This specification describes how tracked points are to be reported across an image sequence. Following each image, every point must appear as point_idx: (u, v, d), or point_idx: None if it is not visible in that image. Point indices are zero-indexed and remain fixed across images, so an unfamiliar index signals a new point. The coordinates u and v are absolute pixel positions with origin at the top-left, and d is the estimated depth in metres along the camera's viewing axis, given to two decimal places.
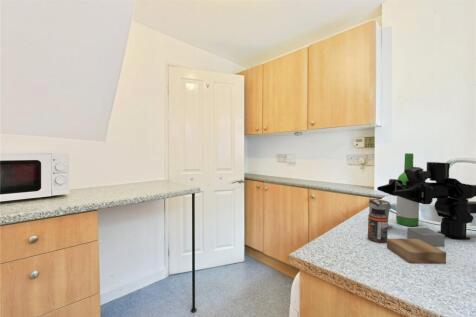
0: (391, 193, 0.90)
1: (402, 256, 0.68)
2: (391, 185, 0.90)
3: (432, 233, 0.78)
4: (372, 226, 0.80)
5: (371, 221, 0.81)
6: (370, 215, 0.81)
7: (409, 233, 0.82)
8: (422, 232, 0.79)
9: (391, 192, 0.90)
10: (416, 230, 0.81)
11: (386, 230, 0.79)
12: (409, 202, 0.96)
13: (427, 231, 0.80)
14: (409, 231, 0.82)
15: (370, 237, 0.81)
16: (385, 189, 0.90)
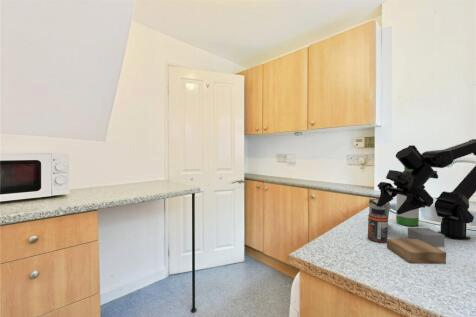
0: (390, 199, 0.88)
1: (402, 256, 0.68)
2: (384, 194, 0.87)
3: (432, 233, 0.78)
4: (372, 226, 0.80)
5: (371, 221, 0.81)
6: (370, 215, 0.81)
7: (409, 233, 0.83)
8: (422, 232, 0.79)
9: (389, 198, 0.88)
10: (416, 230, 0.81)
11: (386, 230, 0.79)
12: None
13: (427, 231, 0.80)
14: (409, 230, 0.83)
15: (370, 237, 0.81)
16: (383, 201, 0.87)
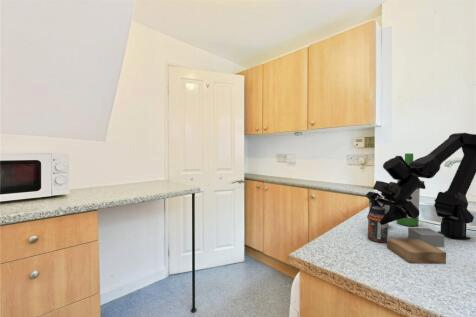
0: None
1: (402, 256, 0.68)
2: (375, 205, 0.85)
3: (432, 233, 0.78)
4: (372, 225, 0.80)
5: (371, 221, 0.81)
6: (370, 215, 0.81)
7: (409, 233, 0.83)
8: (422, 232, 0.79)
9: None
10: (416, 230, 0.81)
11: (386, 230, 0.79)
12: None
13: (427, 231, 0.79)
14: (409, 230, 0.83)
15: (370, 237, 0.81)
16: None
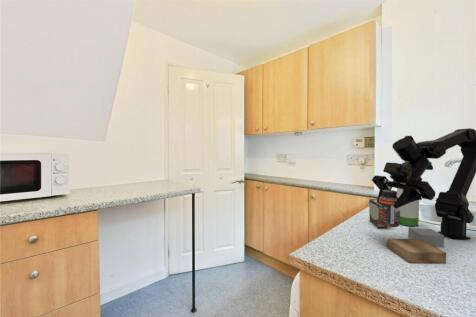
0: None
1: (402, 256, 0.68)
2: (384, 188, 0.81)
3: (431, 233, 0.78)
4: (385, 210, 0.75)
5: (384, 205, 0.76)
6: (382, 199, 0.76)
7: (409, 232, 0.83)
8: (421, 231, 0.79)
9: None
10: (416, 230, 0.81)
11: (399, 214, 0.75)
12: None
13: (427, 231, 0.79)
14: (409, 230, 0.83)
15: (382, 222, 0.76)
16: None
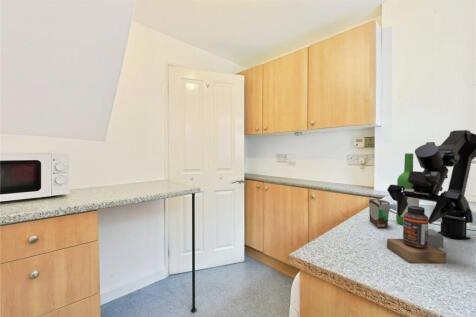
0: (406, 205, 0.75)
1: (402, 256, 0.68)
2: (402, 199, 0.74)
3: (431, 233, 0.78)
4: (414, 229, 0.68)
5: (413, 224, 0.68)
6: (410, 217, 0.68)
7: None
8: None
9: (405, 204, 0.75)
10: None
11: (427, 233, 0.68)
12: (409, 202, 0.96)
13: None
14: None
15: (411, 243, 0.68)
16: (402, 208, 0.73)
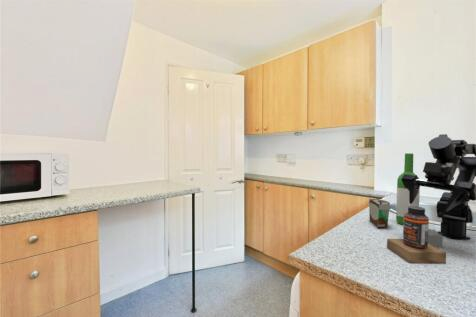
0: (416, 193, 0.81)
1: (402, 256, 0.68)
2: (414, 187, 0.79)
3: (430, 233, 0.78)
4: (414, 230, 0.67)
5: (413, 224, 0.68)
6: (410, 217, 0.68)
7: None
8: None
9: (416, 192, 0.81)
10: None
11: (427, 233, 0.68)
12: (409, 202, 0.96)
13: None
14: None
15: (411, 243, 0.68)
16: (414, 196, 0.79)
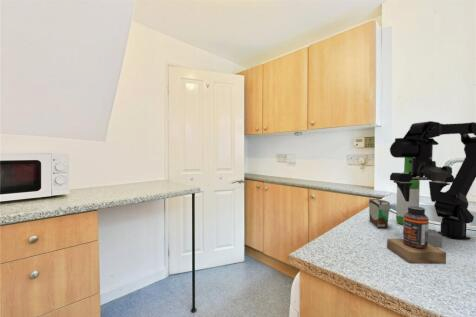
0: None
1: (402, 256, 0.68)
2: None
3: (430, 233, 0.78)
4: (414, 230, 0.67)
5: (413, 224, 0.68)
6: (410, 217, 0.68)
7: None
8: None
9: None
10: None
11: (427, 233, 0.68)
12: (409, 202, 0.96)
13: None
14: None
15: (411, 243, 0.68)
16: None
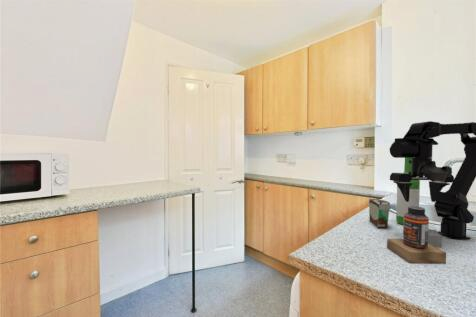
0: None
1: (402, 256, 0.68)
2: None
3: (429, 233, 0.78)
4: (415, 230, 0.67)
5: (413, 224, 0.68)
6: (410, 217, 0.68)
7: None
8: None
9: None
10: None
11: (427, 233, 0.68)
12: (409, 202, 0.96)
13: None
14: None
15: (411, 243, 0.68)
16: None
